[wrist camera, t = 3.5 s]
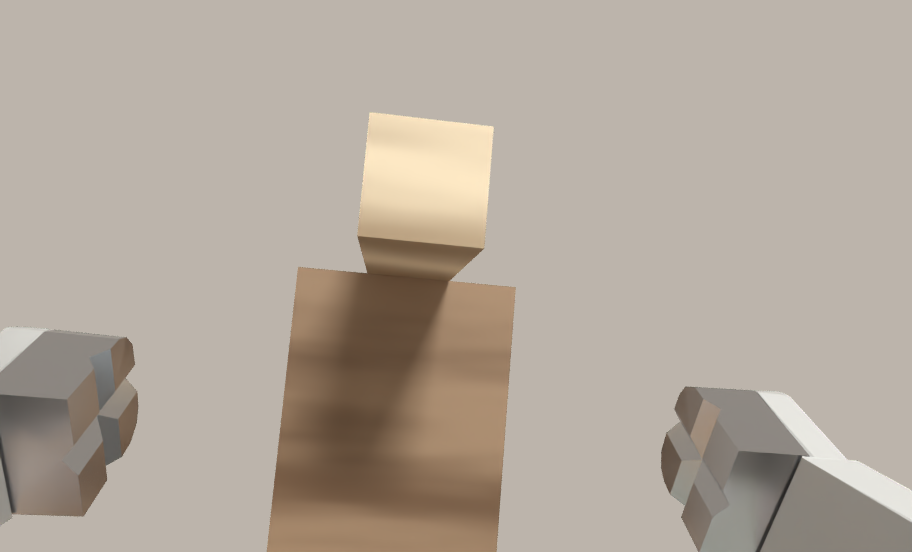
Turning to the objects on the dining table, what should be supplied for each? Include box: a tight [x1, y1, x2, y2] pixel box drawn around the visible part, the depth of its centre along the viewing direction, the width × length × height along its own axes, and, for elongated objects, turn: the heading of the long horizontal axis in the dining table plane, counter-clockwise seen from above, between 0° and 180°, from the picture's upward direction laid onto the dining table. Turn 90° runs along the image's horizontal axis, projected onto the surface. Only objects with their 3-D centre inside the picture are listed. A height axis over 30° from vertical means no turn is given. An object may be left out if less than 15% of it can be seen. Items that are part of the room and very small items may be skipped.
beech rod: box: [357, 112, 494, 281], centre depth 25 cm, size 20×3×3 cm, turn 6°
